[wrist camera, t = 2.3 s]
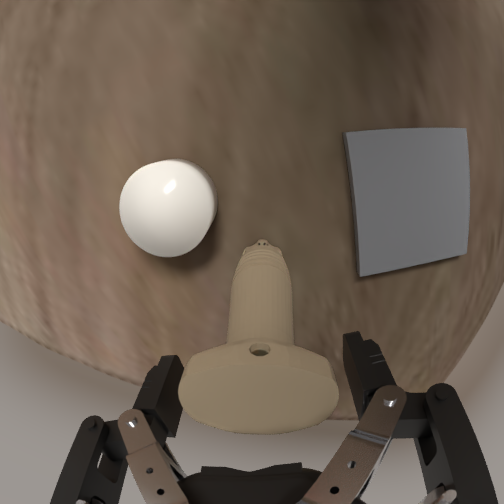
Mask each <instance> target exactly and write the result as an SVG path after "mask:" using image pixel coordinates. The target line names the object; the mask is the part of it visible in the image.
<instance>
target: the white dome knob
mask: <svg viewBox="0 0 504 504" xmlns="http://www.w3.org/2000/svg"><path fill="white" fill-rule="evenodd" d="M217 208H218V196H217V191H216V188H215V185H214V183H213V181H212V179H211V177H210V176H209V175H208V174H207V172H206V171H205V170H204V169H203V168H201V167H200V166H198V165H197V164H195V163H193V162H191V161H188V160H184V159H168V160H164V161H160V162H156V163H152V164H149V165H146V166H144V167H142V168H140V169H139V170H137V171H136V172H135V173H134V174H133V175H132V176H131V177H130V178H129V179H128V181H127V182H126V184H125V186H124V188H123V190H122V193H121V197H120V217H121V221H122V224H123V226H124V229H125V231H126V232H127V234H128V236H129V237H130V238H131V239H132V241H133V242H134V243H135V244H136V245H137V246H139V247H140V248H141V249H143V250H144V251H146V252H148V253H150V254H153V255H156V256H161V257H176V256H180V255H183V254H185V253H187V252H189V251H191V250H192V249H193V248H195V247H196V246H197V245H198V244H199V243H200V242H201V240H202V239H203V237H204V236H205V234H206V232H207V231H208V229H209V227H210V226H211V224H212V222H213V220H214V218H215V216H216V212H217Z"/></svg>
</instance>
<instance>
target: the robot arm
mask: <svg viewBox="0 0 504 504" xmlns="http://www.w3.org/2000/svg"><path fill="white" fill-rule="evenodd" d="M343 361H344V368H345V371H346V375H347V378H348V382H349V385H350V389H351V392H352V396H353V400H354V403H355V407H356V411H357V414H358V418H359V423H358V425H357V427H356V428H355V430H354V431H351V432H350V433H349V434H348V435H347V437H346V438H345V440H344V441H343V443H342V445H341V446H340V448H339V449H338V451H337V452H336V454H335V455H334V457H333V458H332V460H331V461H330V462H329V464H328V465H327V467H326V468H325V470H324V471H323V472H320V471H317V470H313V469H307V468H302V463H301V462H300V463H292V464H283V465H274V466H271V467H268V468H264V469H260V470H256V471H252V472H247V471H241V470H236V469H232V468H227V467H207V466H202V468H201V472H200V473H196V474H193V475H190V476H187V475H186V474H185V473H184V471H183V470H182V469H181V467H180V465H179V464H178V462H177V460H176V459H175V457H174V456H173V454H172V452H171V450H170V449H169V447H168V445H167V443H166V442H165V441H166V438H167V437H174V438H175V436H176V432H177V428H178V425H179V421H180V417H181V414H182V410H183V407H182V405H181V402H180V400H179V395H178V389H179V384H180V380H181V377H182V374H183V371H184V367H183V365H182V363H181V361H180V359H179V357H178V356H177V355H168V356H162V357H161V359H160V361H159V364H158V366H154V367H153V368H152V369H151V370H150V371H149V372H148V373H147V376H146V378H145V382H144V383H143V385H142V388H141V390H140V392H139V394H138V397H137V399H136V401H135V404H134V406H133V408H132V409H130V410H127V411H125V412H124V413H122V414H121V415H120V417H119V419H118V420H114V421H107V422H104V421H103V419H101V417H99V416H90V417H88V418H86V419H85V420H84V421H83V422H82V424H81V426H80V429H79V431H78V433H77V435H76V438H75V440H74V442H73V445H72V447H71V449H70V452H69V454H68V457H67V459H66V462H65V464H64V467H63V469H62V472H61V474H60V477H59V480H58V482H57V485H56V488H55V491H54V494H53V496H52V499H51V502H50V504H118V503H119V499H120V495H121V490H122V487H123V483H124V479H125V475H126V471H127V467H128V464H129V467H130V469H131V471H132V474H133V476H134V479H135V481H136V483H137V485H138V487H139V489H140V492H141V494H142V496H143V498H144V500H145V502H146V504H366V503H365V502H363V501H362V500H361V497H362V495H363V494H364V492H365V491H366V489H367V487H368V485H369V484H370V482H371V481H372V479H373V477H374V475H375V473H376V471H377V469H378V467H379V466H380V464H381V462H382V460H383V458H384V456H385V454H386V452H387V450H388V448H389V446H390V444H391V442H392V440H393V438H414V442H415V446H416V449H417V453H418V456H419V460H420V465H421V468H422V473H423V477H424V481H425V485H426V490H427V496H426V497H425V498H424V499H423V500H422V501H421V502H420V503H419V504H498V500H497V497H496V494H495V490H494V486H493V483H492V480H491V477H490V473H489V470H488V468H487V465H486V462H485V459H484V456H483V453H482V451H481V448H480V445H479V443H478V441H477V438H476V435H475V433H474V431H473V428H472V426H471V423H470V421H469V419H468V416H467V414H466V412H465V410H464V408H463V406H462V403H461V401H460V399H459V397H458V395H457V393H456V391H455V389H454V388H453V387H452V386H450V385H448V384H445V383H438V384H435V385H433V386H431V387H430V388H429V389H428V391H427V392H426V393H409V392H405V391H404V390H403V389H402V388H401V387H398V386H397V385H396V383H395V380H394V378H393V376H392V374H391V371H390V369H389V367H388V365H387V363H386V361H385V358H384V356H383V355H382V352H381V350H380V347H379V345H378V344H376V343H375V342H374V341H373V340H371V339H369V340H365V341H363V339H362V337H361V334H360V332H359V331H356V332H351V333H346V334H343ZM101 452H102V453H103V455H102V458H101V461H100V464H99V467H98V468H97V464H98V461H99V458H100V455H101Z"/></svg>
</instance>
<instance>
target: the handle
mask: <svg viewBox="0 0 504 504" xmlns="http://www.w3.org/2000/svg"><path fill="white" fill-rule="evenodd" d="M178 395H179V400H180V402H181V405H182V407H183V408H184V410H185V411H186V413H187V414H188V415H190V416H191V417H192V418H193V419H194V420H196V421H197V422H200V423H203V424H206V425H208V426H211V427H214V428H218V429H221V430H225V431H229V432H234V433H242V434H282V433H288V432H293V431H297V430H301V429H305V428H308V427H312V426H315V425H318V424H320V423H321V422H323V421H324V420H325V419H327V418H328V417H329V416H330V415H331V413H332V412H333V411H334V409H335V407H336V405H337V403H338V398H339V389H338V384H337V380H336V376H335V373H334V371H333V368H332V366H331V364H330V363H329V361H328V360H327V359H326V358H325V357H323V356H320V355H318V354H316V353H314V352H311V351H309V350H306V349H304V348H301V347H298V346H295V345H294V329H293V303H292V285H291V279H290V274H289V271H288V268H287V265H286V263H285V261H284V259H283V255H282V252H281V250H280V249H279V248H278V247H274V246H272V245H270V244H269V243H268V242H267V240H264V239H261V240H258V242H257V243H256V244H254V245H252V246H250V247H246V248H245V250H244V251H243V254H242V257H241V259H240V261H239V263H238V265H237V268H236V270H235V273H234V277H233V281H232V287H231V297H230V310H229V321H228V330H227V339H226V344H223V345H220V346H217V347H214V348H211V349H208V350H205V351H203V352H200V353H198V354H195V355H193V356H192V357H191V359H190V360H189V361H188V363H187V365H186V367H185V369H184V371H183V374H182V377H181V380H180V384H179V389H178Z"/></svg>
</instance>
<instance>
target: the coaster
mask: <svg viewBox="0 0 504 504" xmlns="http://www.w3.org/2000/svg"><path fill="white" fill-rule="evenodd" d="M343 139H344V145H345V152H346V158H347V166H348V173H349V181H350V189H351V198H352V208H353V219H354V231H355V246H356V265H357V273H358V275H359V276H360V277H362V276H367V275H372V274H377V273H382V272H387V271H392V270H396V269H401V268H406V267H410V266H415V265H420V264H424V263H428V262H433V261H437V260H441V259H446V258H450V257H454V256H458V255H462V254H466V253H467V244H468V232H469V213H470V172H469V153H468V141H467V132H466V128H398V129H379V130H365V131H354V132H343Z"/></svg>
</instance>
